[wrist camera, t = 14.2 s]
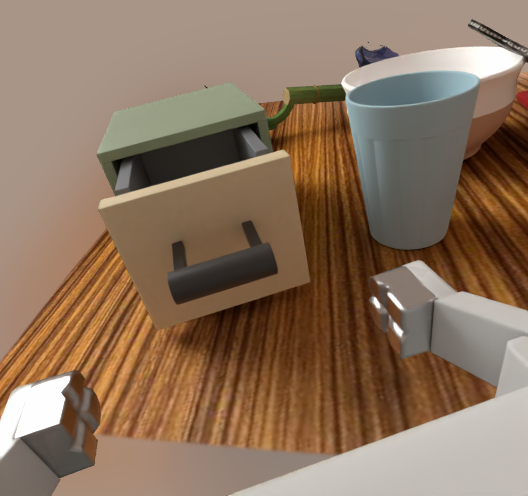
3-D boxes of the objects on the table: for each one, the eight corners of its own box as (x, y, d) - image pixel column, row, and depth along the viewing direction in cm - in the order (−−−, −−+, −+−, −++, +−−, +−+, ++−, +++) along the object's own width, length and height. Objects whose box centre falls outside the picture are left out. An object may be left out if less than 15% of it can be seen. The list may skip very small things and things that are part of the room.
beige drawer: (339, 330, 21) (322, 187, 16) (157, 391, 20) (82, 257, 15) (264, 205, 35) (244, 109, 31) (156, 236, 34) (117, 142, 30)
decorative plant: (421, 81, 53) (213, 94, 43) (404, 139, 58) (215, 162, 48) (393, 70, 58) (199, 80, 48) (380, 125, 63) (201, 144, 53)
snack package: (443, 94, 54) (428, 120, 46) (402, 120, 58) (382, 149, 50) (395, 19, 52) (370, 33, 44) (357, 53, 56) (328, 71, 48)
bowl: (359, 126, 50) (355, 60, 46) (502, 115, 44) (513, 38, 39) (333, 181, 38) (325, 99, 34) (524, 177, 32) (544, 75, 27)
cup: (342, 217, 32) (330, 89, 27) (430, 196, 32) (437, 64, 27) (376, 269, 26) (371, 115, 20) (486, 243, 26) (510, 82, 20)
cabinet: (289, 238, 31) (265, 109, 26) (152, 279, 30) (96, 154, 25) (253, 180, 43) (231, 81, 37) (153, 209, 41) (114, 111, 36)
